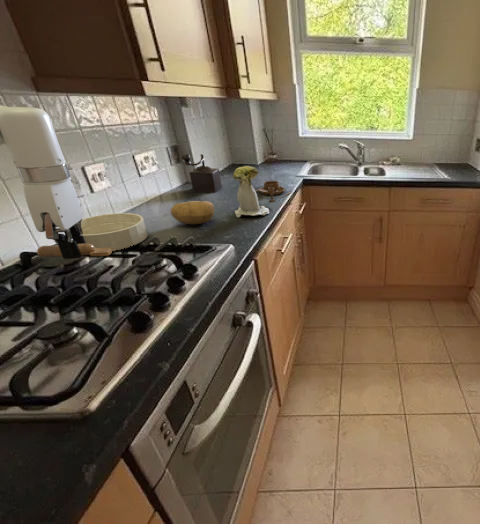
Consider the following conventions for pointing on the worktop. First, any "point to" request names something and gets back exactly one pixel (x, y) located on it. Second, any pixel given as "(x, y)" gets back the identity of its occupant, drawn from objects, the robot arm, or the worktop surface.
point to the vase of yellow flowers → (248, 192)
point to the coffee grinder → (203, 176)
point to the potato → (193, 212)
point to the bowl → (114, 230)
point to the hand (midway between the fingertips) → (76, 254)
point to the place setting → (272, 189)
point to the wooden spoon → (84, 248)
